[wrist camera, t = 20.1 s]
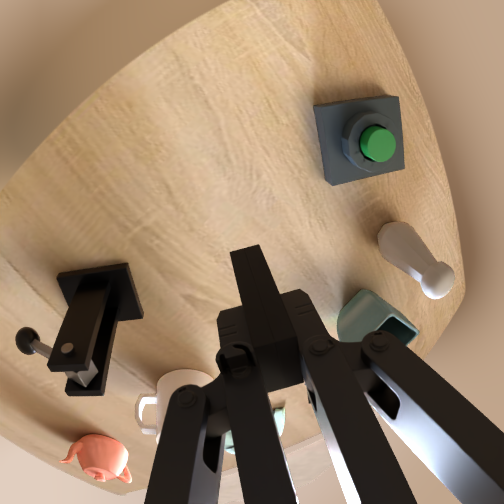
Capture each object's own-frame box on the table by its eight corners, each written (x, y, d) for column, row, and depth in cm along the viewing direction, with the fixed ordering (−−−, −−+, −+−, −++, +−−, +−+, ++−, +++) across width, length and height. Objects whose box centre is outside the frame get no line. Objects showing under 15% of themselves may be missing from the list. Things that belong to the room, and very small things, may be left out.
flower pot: (355, 334, 51) (378, 373, 43) (321, 316, 47) (343, 358, 39) (392, 296, 48) (421, 332, 40) (362, 273, 44) (392, 311, 37)
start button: (361, 160, 32) (369, 165, 31) (357, 128, 30) (365, 131, 29) (388, 155, 32) (397, 159, 31) (385, 124, 30) (394, 126, 29)
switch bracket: (79, 320, 40) (54, 404, 27) (58, 272, 36) (18, 354, 23) (143, 313, 41) (134, 403, 28) (128, 262, 37) (105, 350, 25)
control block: (325, 180, 37) (339, 191, 33) (312, 105, 32) (327, 108, 29) (395, 164, 37) (413, 173, 34) (388, 95, 32) (407, 97, 29)
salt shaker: (409, 215, 41) (469, 262, 30) (400, 251, 44) (453, 304, 33) (376, 215, 40) (434, 266, 29) (367, 253, 43) (418, 311, 32)
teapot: (119, 462, 62) (118, 494, 54) (55, 434, 54) (49, 468, 46) (145, 449, 60) (145, 485, 52) (76, 418, 51) (69, 457, 43)
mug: (144, 405, 51) (142, 455, 42) (131, 370, 46) (126, 426, 37) (218, 402, 53) (225, 452, 44) (215, 367, 49) (223, 423, 39)
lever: (35, 338, 33) (19, 355, 30) (23, 318, 32) (6, 335, 29) (103, 372, 29) (85, 394, 26) (91, 349, 28) (71, 373, 25)
